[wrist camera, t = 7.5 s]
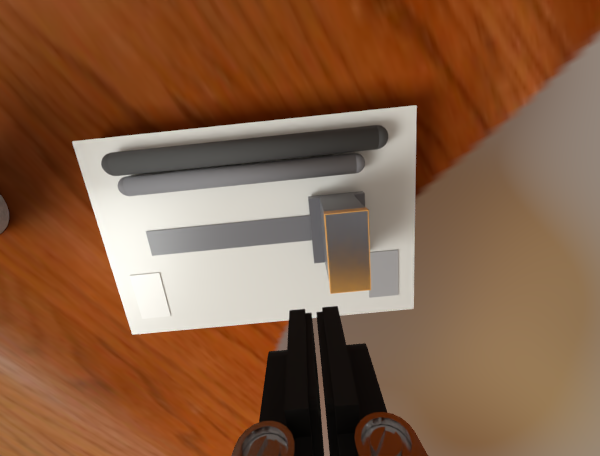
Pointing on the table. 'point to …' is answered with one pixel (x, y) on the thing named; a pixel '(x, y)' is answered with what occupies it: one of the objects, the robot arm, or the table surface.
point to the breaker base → (250, 216)
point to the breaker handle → (342, 239)
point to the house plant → (3, 214)
